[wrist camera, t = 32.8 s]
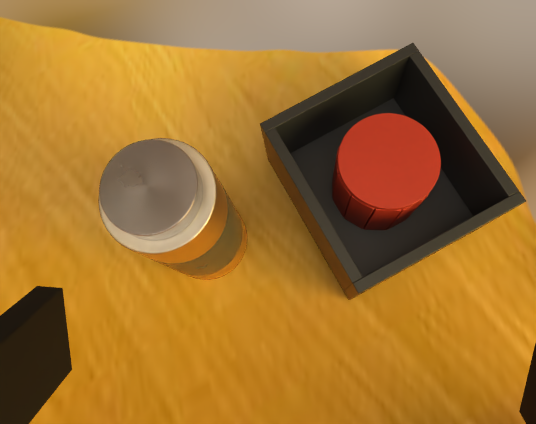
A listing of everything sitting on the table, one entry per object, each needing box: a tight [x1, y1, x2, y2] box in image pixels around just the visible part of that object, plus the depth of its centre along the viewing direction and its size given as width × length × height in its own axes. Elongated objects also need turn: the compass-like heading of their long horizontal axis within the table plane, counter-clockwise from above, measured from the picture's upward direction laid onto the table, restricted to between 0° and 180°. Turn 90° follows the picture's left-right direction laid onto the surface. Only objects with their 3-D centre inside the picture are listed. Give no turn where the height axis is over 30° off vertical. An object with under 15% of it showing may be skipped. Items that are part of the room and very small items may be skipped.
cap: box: [332, 113, 441, 230], centre depth 35 cm, size 7×7×7 cm
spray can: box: [99, 138, 247, 280], centre depth 32 cm, size 7×7×16 cm
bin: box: [260, 43, 526, 300], centre depth 36 cm, size 14×13×7 cm
